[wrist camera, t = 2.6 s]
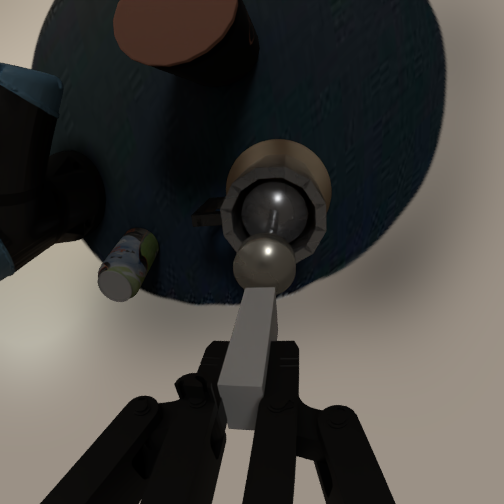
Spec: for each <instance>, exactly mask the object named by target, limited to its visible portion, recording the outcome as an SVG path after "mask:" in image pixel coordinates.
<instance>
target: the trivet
mask: <svg viewBox="0 0 504 504" xmlns="http://www.w3.org/2000/svg"><path fill="white" fill-rule="evenodd" d="M279 154H287V155H289V156H291V157H293V158H295V159H297V160H299V161H301V162H303V163H305V165H306V166H307V168H308V169H309V171H310V172H311V174H312V175H313V177H314V178H315V180H316V182H317V184H318V186H319V189H320V191H321V193H322V196H323V198H324V200H325V203H326V213H327V211H328V208H329V205H330V200H331V182H330V178H329V175H328V172H327V170H326V168H325V166H324V164H323V163H322V162H321V160H320V159H319V158H318V157H317V156H316V155H315V154H314V153H313V152H312V151H311V150H310V149H308V148H307V147H305V146H303V145H301V144H299V143H296V142H293V141H290V140H283V139H273V140H267V141H263V142H260V143H257V144H255V145H253V146H251V147H250V148H248V149H247V150H245V151H244V152H243V153H242V154H241V155H240V156H239V157H238V158H237V159H236V161H235V162H234V164H233V166H232V167H231V169H230V172H229V175H228V178H227V184H226V195H227V193H228V191H229V189H230V186H231V184H232V183H233V182H234V181H235V180H236V179H237V178H238V177H239V176H240V175H241V174H242V173H243V172H244V171H245V170H246V169H247V168H248V167H249V166H250V165H252V164H253V163H255V162H256V161H258V160H259V159H261V158H262V157H264V156H265V155H279Z"/></svg>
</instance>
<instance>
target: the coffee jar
mask: <svg viewBox="0 0 504 504" xmlns="http://www.w3.org/2000/svg"><path fill="white" fill-rule="evenodd" d="M113 21H114V36H115V38H116V40H117V42H118V45H119V47H120V49H121V50H122V51H123V52H124V53H125V54H127V55H128V56H129V57H130V58H131V59H132V60H135V61H137V62H140V63H143V64H145V65H148V66H152V67H155V68H157V69H160V70H162V71H165V72H168V73H171V74H174V75H177V76H180V77H182V78H185V79H188V80H190V81H193V82H196V83H198V84H201V85H203V86H212V87H219V86H225V85H230V84H232V83H234V82H236V81H238V80H240V79H242V78H243V77H244V76H245V75H246V74H247V73H248V72H250V71H251V69H252V67H253V66H254V64H255V63H256V61H257V58H258V53H259V49H260V48H259V41H258V36H257V34H256V31H255V29H254V26H253V24H252V22H251V19H250V17H249V15H248V12H247V10H246V8H245V5H244V3H243V1H242V0H120V1H119V3H118V5H117V8H116V12H115V16H114V19H113Z"/></svg>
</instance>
